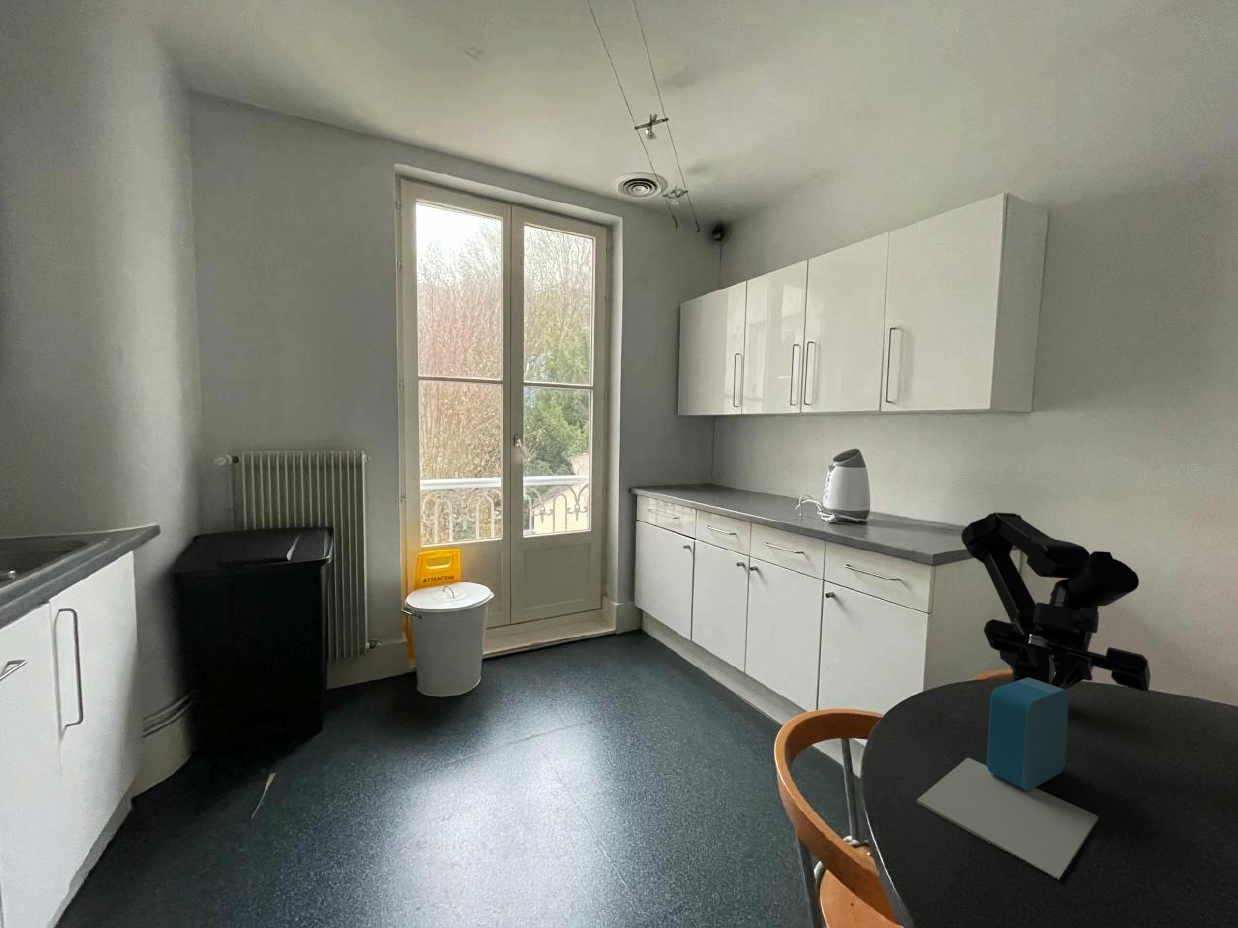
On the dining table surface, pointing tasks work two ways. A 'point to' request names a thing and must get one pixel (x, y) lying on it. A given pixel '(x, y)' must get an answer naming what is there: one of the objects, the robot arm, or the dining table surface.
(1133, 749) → the dining table surface
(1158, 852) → the dining table surface
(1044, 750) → the blue rounded flat block
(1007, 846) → the mat
